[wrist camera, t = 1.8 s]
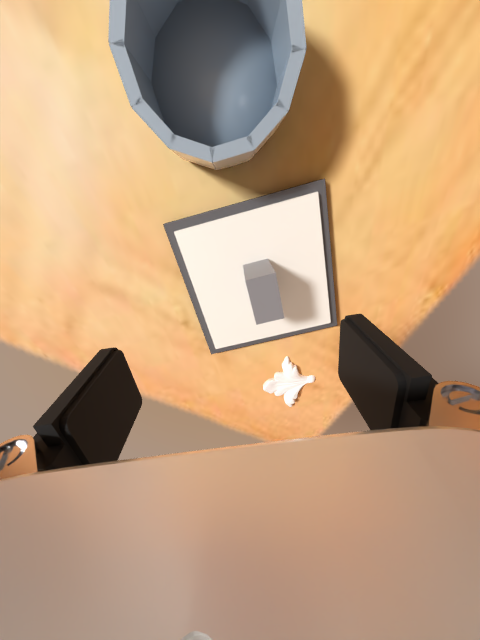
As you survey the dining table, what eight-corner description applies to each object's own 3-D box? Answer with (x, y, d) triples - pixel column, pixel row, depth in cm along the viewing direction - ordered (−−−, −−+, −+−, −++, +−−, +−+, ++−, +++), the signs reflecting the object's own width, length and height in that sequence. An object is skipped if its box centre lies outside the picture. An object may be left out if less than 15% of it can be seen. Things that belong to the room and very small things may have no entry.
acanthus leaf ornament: (289, 401, 42) (291, 410, 40) (257, 385, 40) (258, 393, 39) (319, 373, 39) (323, 381, 38) (286, 353, 37) (288, 361, 36)
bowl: (269, -43, 20) (287, -157, 13) (294, 148, 25) (314, 132, 19) (119, 12, 21) (69, -68, 14) (174, 183, 26) (156, 179, 20)
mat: (321, 179, 27) (324, 178, 26) (334, 322, 34) (337, 325, 34) (165, 223, 28) (163, 224, 27) (211, 350, 36) (211, 354, 35)
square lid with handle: (316, 191, 26) (340, 190, 20) (329, 320, 33) (349, 347, 27) (174, 231, 28) (159, 240, 22) (216, 346, 35) (212, 377, 29)
